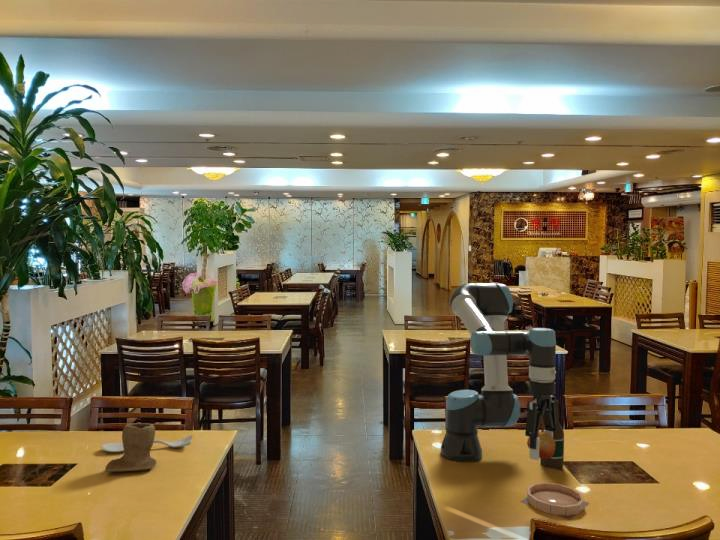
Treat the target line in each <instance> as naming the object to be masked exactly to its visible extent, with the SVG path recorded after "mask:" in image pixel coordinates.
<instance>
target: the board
mask: <svg viewBox="0 0 720 540" xmlns="http://www.w3.org/2000/svg"><path fill="white" fill-rule="evenodd" d="M520 503H522V504H526V505H528V506H530V507H533V506H532V505H531V504H529V503H528V500H527V496H526V497H525V498H523V499H522V500H520ZM589 504H590V503H589V502H588V501H585V500H584V509H585V508H586V507H587V506H588V505H589ZM577 515H578V514H575V515H568V516H563V515H557V516H559V517H561V518H564V519H567V520H572V519H573V518H575V517H576V516H577Z"/></svg>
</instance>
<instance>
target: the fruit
mask: <svg viewBox="0 0 720 540" xmlns="http://www.w3.org/2000/svg"><path fill="white" fill-rule="evenodd" d="M538 438H539V459H540V458H551V457H553V455H554V452H555V448H556V446H555V441H554V438H553V437H551V436H550V435H549V434H548V433H546V432H541V431H539V433H538ZM526 444H527V447H528V449H530V437H528V438H527V441H526Z"/></svg>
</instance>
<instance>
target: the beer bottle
mask: <svg viewBox="0 0 720 540" xmlns="http://www.w3.org/2000/svg"><path fill="white" fill-rule="evenodd" d="M559 403H560V402H559V400H558V399H556V402H555V406H556V420H557V427H556V428H557V430H556V432H555V431H553V438H554V441H555V446H556V448H555V452H554V455H553V457H551V458H539V461H540V466H543V467H545V468H549V469H552V470H553V469H554V470H557V471H560V472H561V471H562V470H563V468H564V462H565V461H564V459H565V458H564V456H565V455H564V454H565V432H564V431H565V430H564V429H563V426H562V425H561V423H560V419H559ZM554 428H555V427H554ZM543 430H547V429H545V426H544V425H543V426H542V428H541V431H540V432H543Z"/></svg>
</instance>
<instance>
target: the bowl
mask: <svg viewBox="0 0 720 540" xmlns="http://www.w3.org/2000/svg"><path fill="white" fill-rule="evenodd" d="M526 497H527V500H528V503H529V504H531V505H532V506H531V507H533V508H534V509H536V510H537V511H541V512H544V513H547V514H550V515H555V516H558V515H563V516H568V515H575V514H577V515H579V514H580V513H582V512H583V511H584V510H585V508H584V501H585V498H584V496H583V494H582V493H581V492H580V491H578V490H577V489H574V488H573V487H571V486H566V485H563V484H561V483H555V482H554V483H553V482H546V481H545V482H543V481H542V482H537V483H536V482H535V483H532V484H531V485H529V486H527V488H526Z"/></svg>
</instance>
